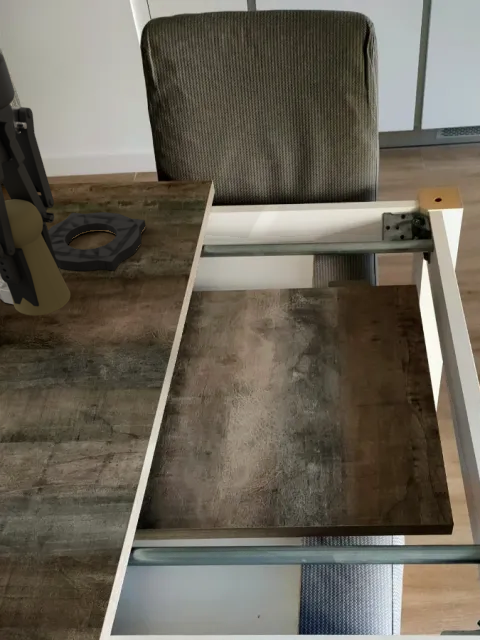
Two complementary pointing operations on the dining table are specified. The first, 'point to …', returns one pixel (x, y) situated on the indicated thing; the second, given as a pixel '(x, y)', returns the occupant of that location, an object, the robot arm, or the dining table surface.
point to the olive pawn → (36, 259)
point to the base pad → (101, 256)
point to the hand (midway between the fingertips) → (39, 289)
